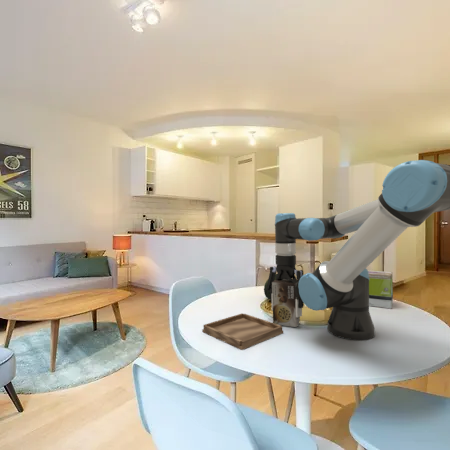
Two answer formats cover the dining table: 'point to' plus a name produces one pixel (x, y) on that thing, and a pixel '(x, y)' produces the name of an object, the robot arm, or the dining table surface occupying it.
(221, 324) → the walnut tray
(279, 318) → the coffee box
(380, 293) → the tea box
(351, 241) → the robot arm
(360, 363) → the dining table surface
